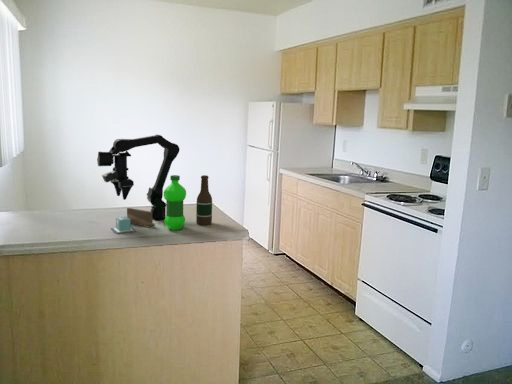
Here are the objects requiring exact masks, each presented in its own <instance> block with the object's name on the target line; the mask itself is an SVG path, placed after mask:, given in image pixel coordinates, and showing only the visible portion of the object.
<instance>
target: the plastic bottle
mask: <svg viewBox="0 0 512 384" xmlns="http://www.w3.org/2000/svg"><path fill="white" fill-rule="evenodd" d="M180 178H181V176H180V175H178V174H177V175H175V174H174V175H173V174H172V175H170V179H169V180H170V181H171V183H170V184H169V185H168V186H167V187H165V188H164V189H163V198H164V200H165V203H166V207H165V209H166V214H165V219H163V220H164V225H165V226H166V227H167V228H168V229H169V230H173V231H177V230H180V229H181V228H182V227H184V225H185V224H186V217H185V215H184V200H186V197H187V191H186V190H187V189H186V188H185V187H184V186H183V185H181V184H180V183H179V181H180Z"/></svg>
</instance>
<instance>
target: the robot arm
mask: <svg viewBox="0 0 512 384" xmlns="http://www.w3.org/2000/svg"><path fill="white" fill-rule="evenodd" d="M154 144H158V145H159V146H160V147H161V148H163V160H162V163H161V165H160V168H159V171H158V174H157V176H156V180H155V183H154V185H153V186H152V187H149V188H148V191H147V193H146V199H147V201H148V202H149V203H150V204H151V209H150V211H151V212H152V221H160V220H161V221H163V220H165V217H166V201H164V200H163V197H164V186H165V184H166V181H167V178H168V175H169V172H170V169H171V167H172V163H173V161H175V159H176V158H177V157H178V155H179V152H180V147H179V145H178V144H176V143H174V142H171V141H170V140H168V139H166V138H164V137H163V136H162V135H161V134H155V135H148V136H143V137H138V138H137V137H136V138H117V139H115V140H114V142H113V143H112V147H111V148H110V150H109V151H98V152H97V159H96V161H97V162H96V163H97V166H98V167H111V166H112V165H113V164H114V165H113V166H114V167H112V170H111V171H109V172H105V173H103V174H101V176H102V179H103V182H105V183H111V184H112V185H113V186H114V189H115V192H116V193H115V194H116V196H117V197H120V195H122V200H123V201H124V200H127V198H128V195H129V193H130V191H131V190H132V188H133V186H135V184H134V183H135V182H134V180H133V179H131V178H129V175H128V171H129V167H128V157H131V156H132V154H131V153H130V152H129V150H132V149H134V148H138V147H143V146H149V145H150V146H151V145H154ZM121 193H122V194H121Z"/></svg>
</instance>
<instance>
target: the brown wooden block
mask: <svg viewBox="0 0 512 384" xmlns="http://www.w3.org/2000/svg"><path fill="white" fill-rule="evenodd" d="M126 217H128V218H129V219H130V224H133V225H138V226H139V225H140V226H144V227H145V228H147V229H148V228H150V227H153V226H155V225H156V223H155V222H153V219H152V212H151V210H145V209H138V208H133V207H126Z"/></svg>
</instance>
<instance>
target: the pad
mask: <svg viewBox="0 0 512 384" xmlns="http://www.w3.org/2000/svg"><path fill="white" fill-rule="evenodd" d="M110 230H111V231H112V232H113V233H115V234H116V235H120V234H127V233H128V234H129V233H134V232H137V230H136V229H135V228H133V226H131V230H126V231H119V230H117V229H116V227H110Z"/></svg>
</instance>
